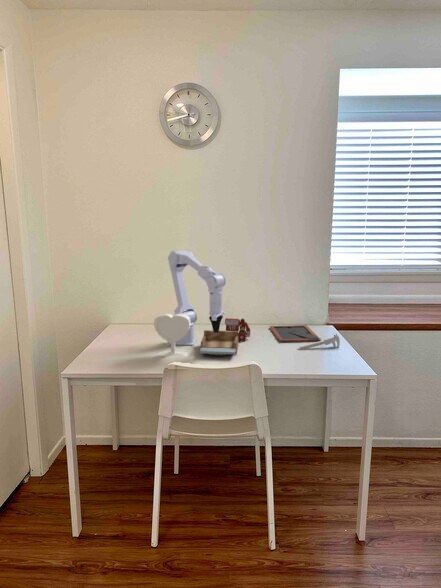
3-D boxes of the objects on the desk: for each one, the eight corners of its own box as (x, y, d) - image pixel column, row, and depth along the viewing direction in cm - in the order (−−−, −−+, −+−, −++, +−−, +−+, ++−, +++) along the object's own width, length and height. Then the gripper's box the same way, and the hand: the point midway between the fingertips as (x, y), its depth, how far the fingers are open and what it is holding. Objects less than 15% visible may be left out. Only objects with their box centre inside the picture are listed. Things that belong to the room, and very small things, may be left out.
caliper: (338, 346, 193) (339, 333, 192) (339, 347, 192) (340, 334, 191) (297, 349, 189) (297, 336, 188) (298, 350, 188) (298, 337, 187)
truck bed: (200, 353, 184) (200, 338, 183) (204, 344, 196) (204, 330, 195) (236, 354, 183) (236, 339, 181) (238, 345, 194) (238, 331, 193)
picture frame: (320, 342, 200) (305, 328, 224) (320, 338, 199) (306, 324, 224) (279, 343, 198) (269, 329, 223) (279, 339, 198) (269, 325, 222)
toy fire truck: (249, 341, 200) (249, 320, 198) (224, 340, 202) (224, 320, 200) (250, 337, 207) (250, 317, 205) (225, 336, 208) (225, 316, 206)
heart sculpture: (154, 355, 182) (153, 315, 178) (157, 351, 187) (156, 312, 183) (189, 356, 180) (188, 316, 177) (191, 352, 185) (190, 313, 181)
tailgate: (201, 350, 184) (199, 354, 178) (201, 347, 184) (199, 351, 178) (235, 351, 182) (234, 355, 176) (235, 348, 182) (234, 352, 176)
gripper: (223, 306, 172) (223, 337, 175) (226, 298, 186) (226, 327, 189) (206, 305, 173) (206, 337, 176) (211, 298, 187) (211, 327, 190)
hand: (216, 332), depth 182 cm, fingers closed
